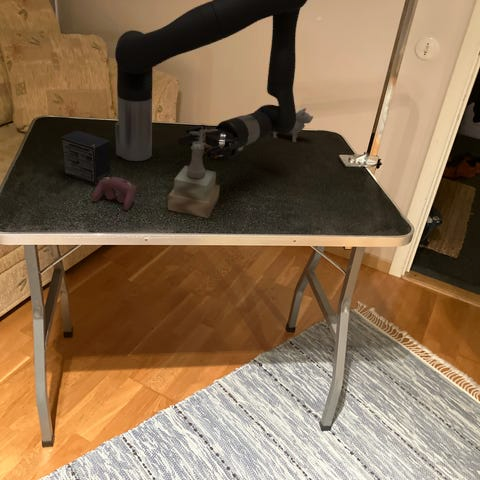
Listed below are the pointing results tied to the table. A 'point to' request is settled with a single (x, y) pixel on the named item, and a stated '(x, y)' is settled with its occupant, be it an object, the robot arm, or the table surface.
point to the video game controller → (118, 184)
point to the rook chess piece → (196, 162)
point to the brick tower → (194, 194)
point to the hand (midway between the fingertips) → (192, 148)
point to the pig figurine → (298, 123)
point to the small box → (86, 157)
